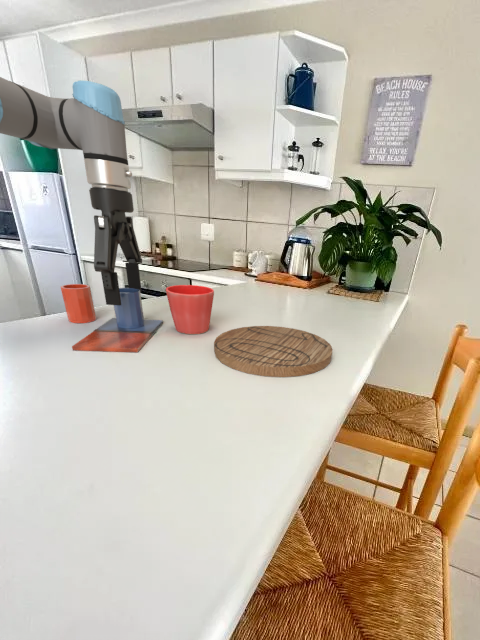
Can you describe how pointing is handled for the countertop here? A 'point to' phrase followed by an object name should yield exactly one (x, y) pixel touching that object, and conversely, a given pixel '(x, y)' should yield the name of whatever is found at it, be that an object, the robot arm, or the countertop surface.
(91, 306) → the red cup
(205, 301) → the flower pot
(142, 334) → the board
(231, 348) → the trivet
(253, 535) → the countertop surface
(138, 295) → the blue cup
